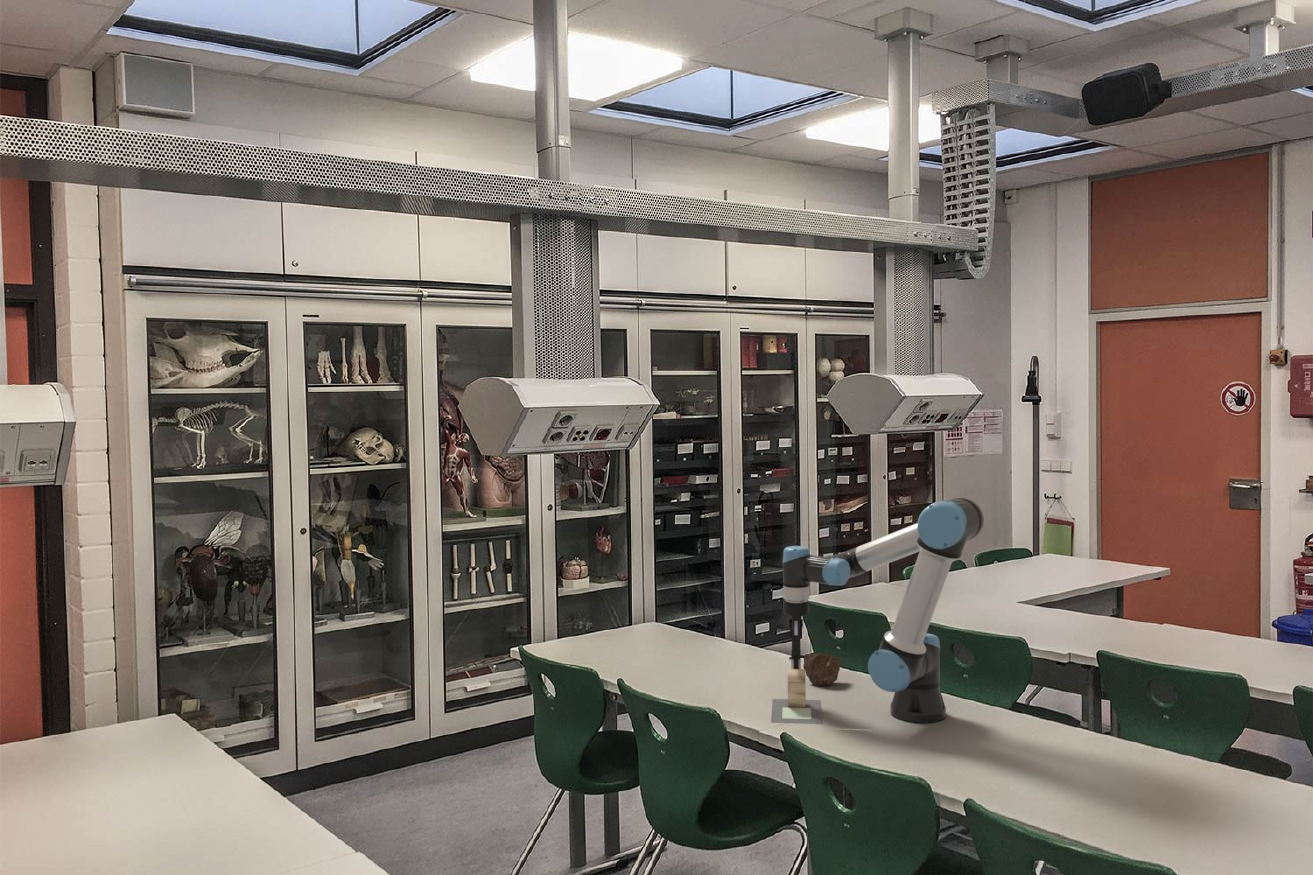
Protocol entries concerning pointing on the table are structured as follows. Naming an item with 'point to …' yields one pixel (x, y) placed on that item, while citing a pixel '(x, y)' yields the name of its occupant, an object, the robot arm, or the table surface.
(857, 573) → the robot arm
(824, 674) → the rock
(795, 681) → the beech block
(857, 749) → the table surface
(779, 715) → the rubber mat
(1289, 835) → the table surface
